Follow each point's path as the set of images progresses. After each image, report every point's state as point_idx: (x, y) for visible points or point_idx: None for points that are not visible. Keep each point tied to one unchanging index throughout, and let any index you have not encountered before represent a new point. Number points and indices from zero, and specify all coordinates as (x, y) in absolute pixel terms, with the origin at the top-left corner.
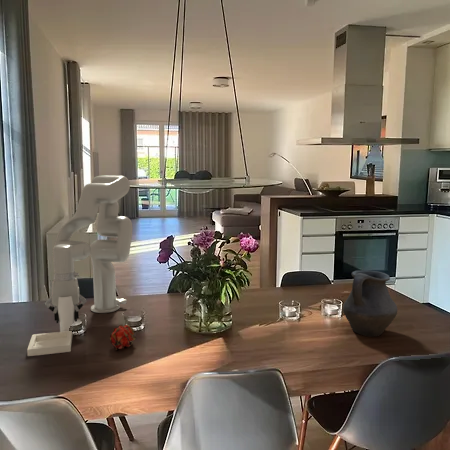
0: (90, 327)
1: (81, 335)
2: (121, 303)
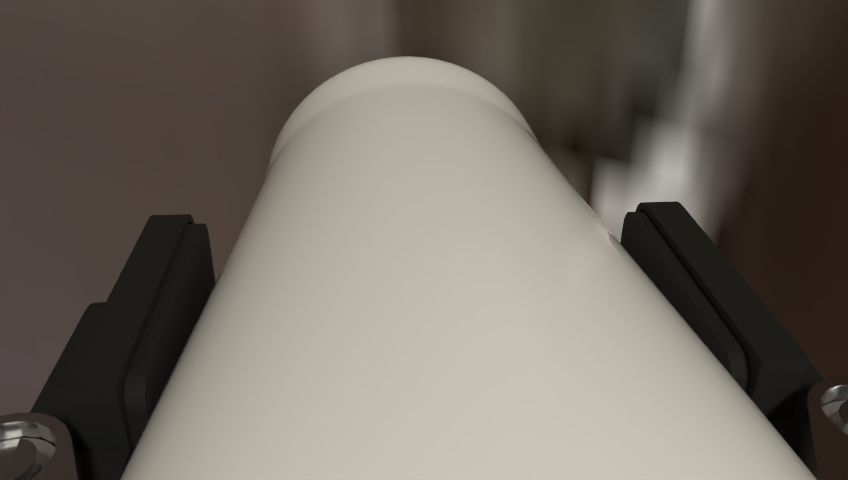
0: (843, 66)
1: None
2: None
